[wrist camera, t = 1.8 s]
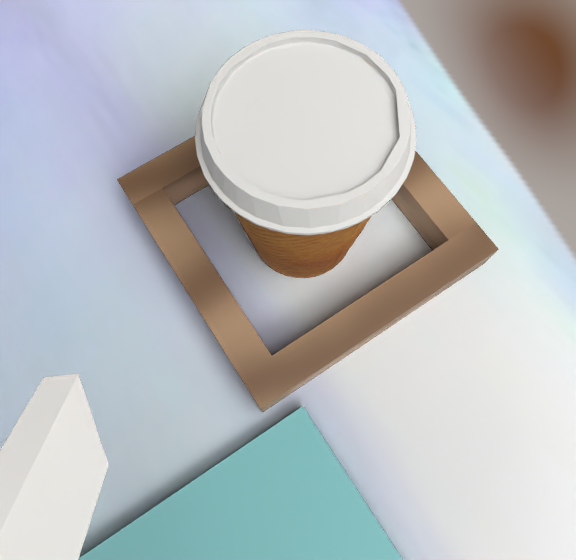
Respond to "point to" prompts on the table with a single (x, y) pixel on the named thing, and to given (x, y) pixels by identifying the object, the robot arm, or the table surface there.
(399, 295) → the pocket frame
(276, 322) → the table surface
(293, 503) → the mat
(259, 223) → the disposable coffee cup
